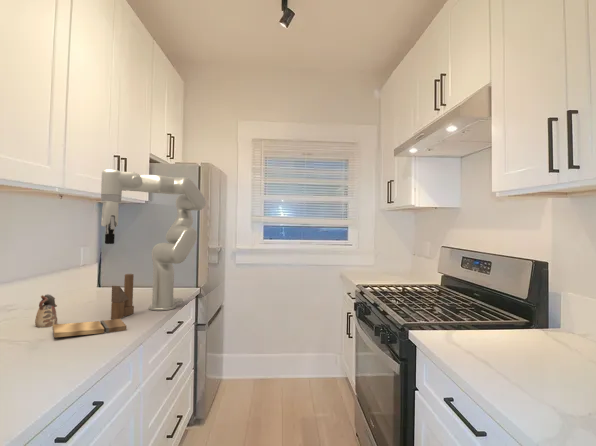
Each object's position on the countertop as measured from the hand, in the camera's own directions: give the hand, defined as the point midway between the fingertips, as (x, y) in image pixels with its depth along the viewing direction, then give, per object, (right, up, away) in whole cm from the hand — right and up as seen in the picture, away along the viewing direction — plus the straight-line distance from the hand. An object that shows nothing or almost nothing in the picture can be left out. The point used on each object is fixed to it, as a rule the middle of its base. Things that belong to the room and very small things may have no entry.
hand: (109, 243), depth 144 cm
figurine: (-21, -32, -8) cm, 38 cm away
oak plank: (-3, -31, -16) cm, 35 cm away
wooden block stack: (+1, -33, +8) cm, 33 cm away
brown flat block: (+6, -32, -9) cm, 34 cm away
